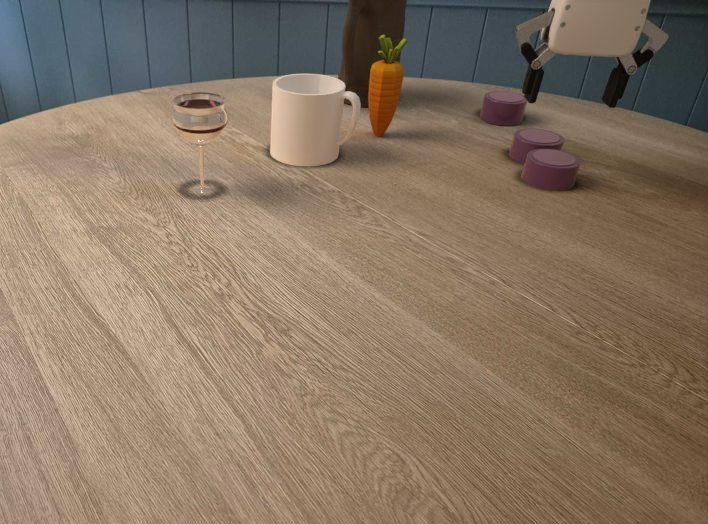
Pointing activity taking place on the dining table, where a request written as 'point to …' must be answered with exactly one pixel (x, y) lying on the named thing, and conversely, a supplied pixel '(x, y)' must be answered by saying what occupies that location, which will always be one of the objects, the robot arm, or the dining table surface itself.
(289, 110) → the mug
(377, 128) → the carrot
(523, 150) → the dish
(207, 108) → the wineglass
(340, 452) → the dining table surface
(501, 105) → the dish
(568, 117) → the dining table surface
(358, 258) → the dining table surface
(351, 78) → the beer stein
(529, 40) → the robot arm
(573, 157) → the dish
